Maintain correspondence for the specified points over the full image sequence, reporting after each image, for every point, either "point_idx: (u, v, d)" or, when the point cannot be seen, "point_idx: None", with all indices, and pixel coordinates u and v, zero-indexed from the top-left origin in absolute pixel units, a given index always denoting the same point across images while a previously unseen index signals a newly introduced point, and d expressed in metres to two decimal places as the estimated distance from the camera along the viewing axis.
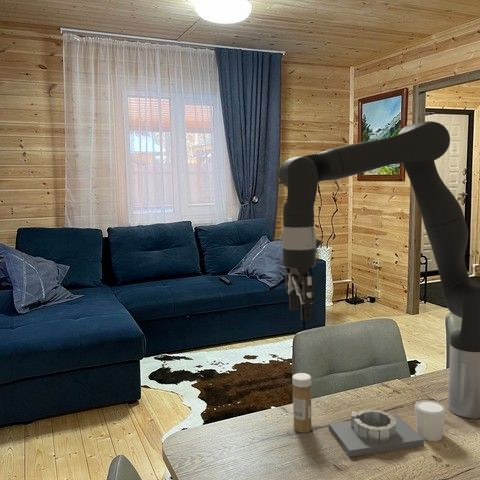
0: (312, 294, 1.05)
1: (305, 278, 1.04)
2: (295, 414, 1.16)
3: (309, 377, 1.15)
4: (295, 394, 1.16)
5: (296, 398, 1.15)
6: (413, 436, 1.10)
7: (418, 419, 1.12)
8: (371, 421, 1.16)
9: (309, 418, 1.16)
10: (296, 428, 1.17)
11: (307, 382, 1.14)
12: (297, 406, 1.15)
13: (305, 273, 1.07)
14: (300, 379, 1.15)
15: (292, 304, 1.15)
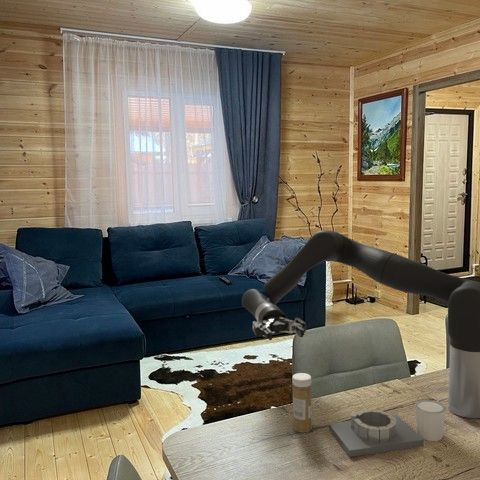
0: None
1: None
2: (295, 414, 1.16)
3: (309, 377, 1.15)
4: (295, 394, 1.16)
5: (296, 398, 1.15)
6: (413, 436, 1.10)
7: (418, 419, 1.12)
8: (371, 421, 1.16)
9: (309, 418, 1.16)
10: (296, 428, 1.17)
11: (307, 382, 1.14)
12: (297, 406, 1.15)
13: None
14: (300, 379, 1.15)
15: (298, 334, 1.29)
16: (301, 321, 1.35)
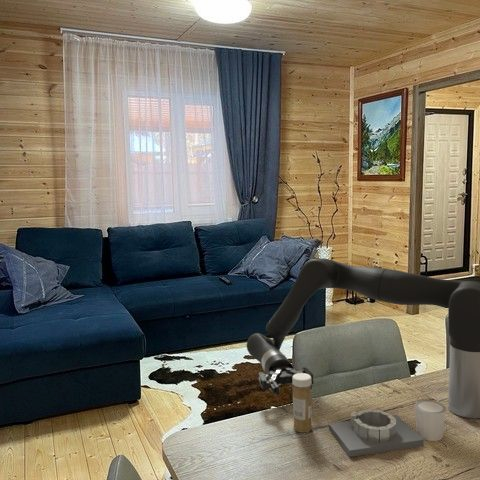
0: None
1: None
2: (295, 414, 1.16)
3: (309, 377, 1.15)
4: (295, 394, 1.16)
5: (296, 398, 1.15)
6: (413, 436, 1.10)
7: (418, 419, 1.12)
8: (371, 421, 1.16)
9: (309, 418, 1.16)
10: (296, 428, 1.17)
11: (307, 382, 1.14)
12: (297, 406, 1.15)
13: None
14: (300, 379, 1.15)
15: None
16: (308, 372, 1.31)
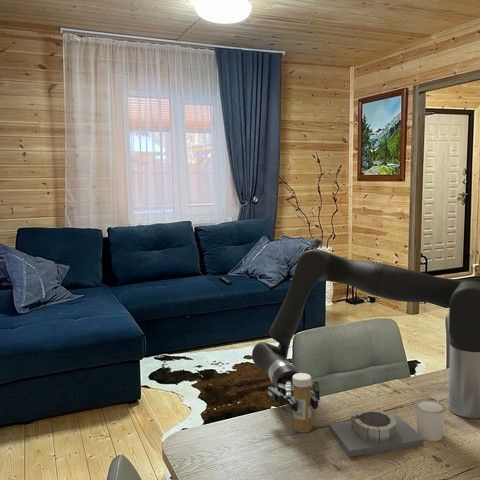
0: None
1: (268, 395, 1.23)
2: (295, 414, 1.16)
3: (309, 377, 1.15)
4: (295, 394, 1.16)
5: (296, 398, 1.15)
6: (413, 436, 1.10)
7: (418, 419, 1.12)
8: (371, 421, 1.16)
9: (309, 418, 1.16)
10: (296, 428, 1.17)
11: (307, 382, 1.14)
12: (297, 406, 1.15)
13: (277, 387, 1.24)
14: (300, 379, 1.15)
15: (312, 404, 1.16)
16: (316, 387, 1.22)
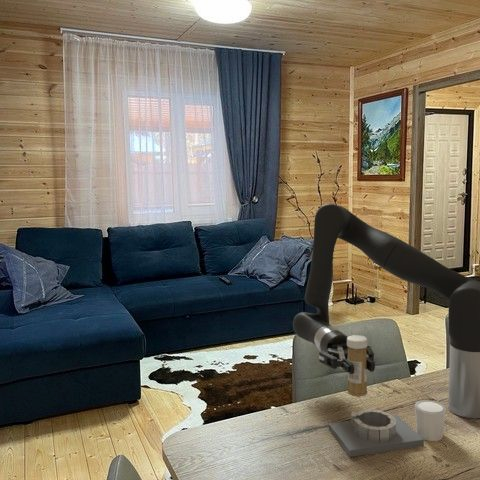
0: None
1: (319, 360, 1.17)
2: (350, 377, 1.11)
3: (365, 338, 1.10)
4: (350, 356, 1.10)
5: (351, 360, 1.10)
6: (413, 436, 1.10)
7: (418, 419, 1.12)
8: (371, 421, 1.16)
9: (365, 381, 1.11)
10: (351, 392, 1.11)
11: (364, 344, 1.09)
12: None
13: (327, 352, 1.19)
14: (356, 340, 1.09)
15: (368, 367, 1.11)
16: (370, 351, 1.16)
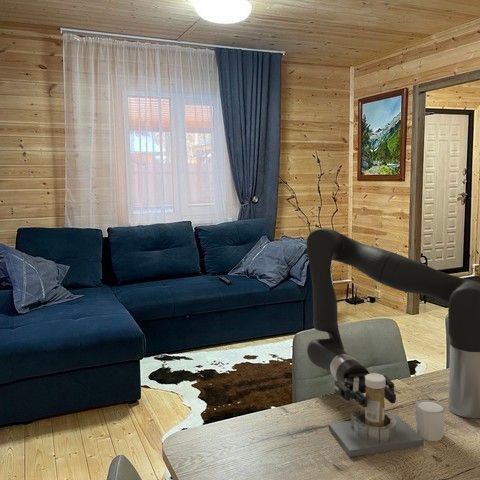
0: None
1: None
2: (368, 416, 1.11)
3: (383, 378, 1.10)
4: (368, 395, 1.10)
5: (369, 400, 1.10)
6: (413, 436, 1.10)
7: (418, 419, 1.12)
8: None
9: (382, 420, 1.11)
10: None
11: (382, 384, 1.09)
12: (370, 408, 1.10)
13: None
14: (375, 380, 1.09)
15: (389, 399, 1.12)
16: (389, 381, 1.17)
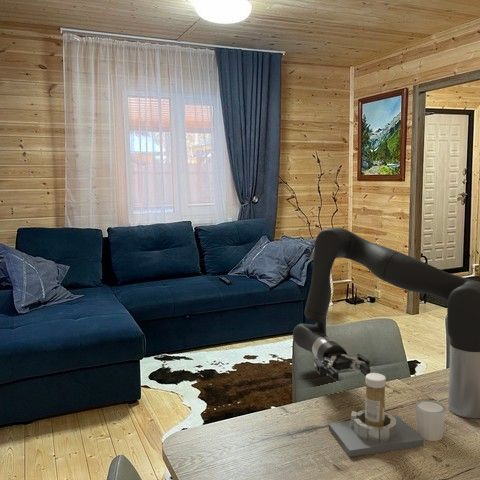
0: None
1: (314, 366, 1.32)
2: (368, 416, 1.11)
3: (384, 377, 1.10)
4: (369, 395, 1.11)
5: (370, 399, 1.10)
6: (413, 436, 1.10)
7: (418, 419, 1.12)
8: None
9: (383, 420, 1.11)
10: None
11: (383, 383, 1.09)
12: (370, 408, 1.10)
13: None
14: (375, 379, 1.09)
15: (364, 373, 1.26)
16: (364, 358, 1.31)
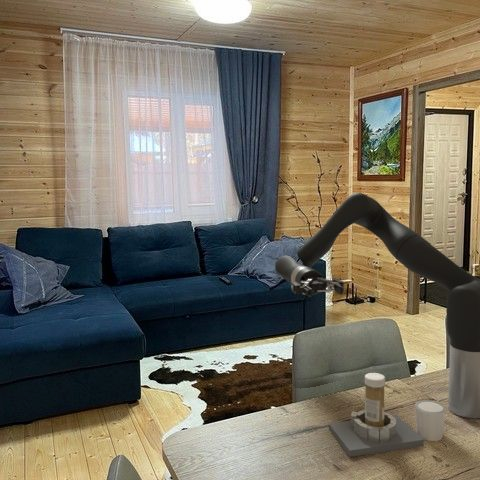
0: None
1: None
2: (368, 416, 1.11)
3: (383, 377, 1.11)
4: (368, 395, 1.11)
5: (369, 399, 1.10)
6: (413, 436, 1.10)
7: (418, 419, 1.12)
8: None
9: (382, 420, 1.11)
10: None
11: (382, 382, 1.10)
12: (370, 407, 1.11)
13: None
14: (374, 379, 1.10)
15: (337, 291, 1.32)
16: (339, 281, 1.38)
